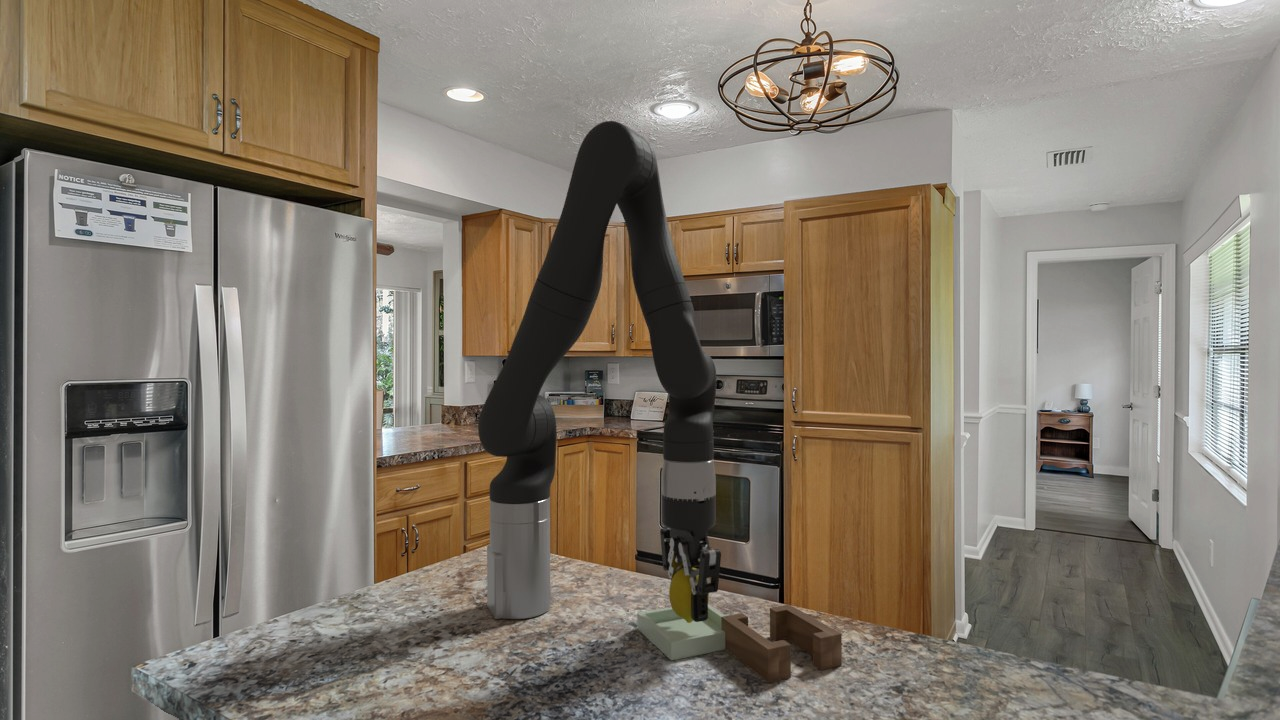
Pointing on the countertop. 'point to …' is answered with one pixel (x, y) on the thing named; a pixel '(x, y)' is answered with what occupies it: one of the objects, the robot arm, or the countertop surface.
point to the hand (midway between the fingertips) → (689, 611)
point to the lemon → (681, 595)
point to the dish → (682, 632)
